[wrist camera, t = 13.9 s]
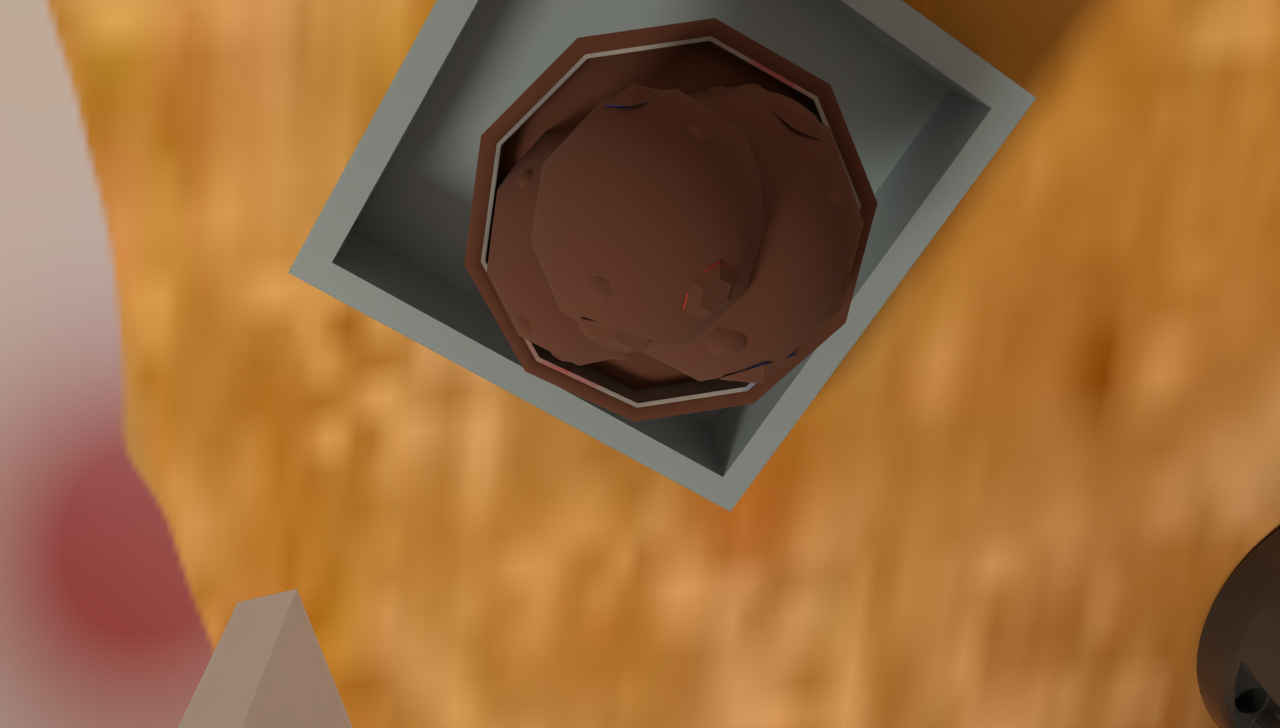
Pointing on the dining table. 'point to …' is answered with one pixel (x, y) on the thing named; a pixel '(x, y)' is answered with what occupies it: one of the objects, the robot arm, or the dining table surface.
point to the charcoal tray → (514, 58)
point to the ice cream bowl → (669, 219)
